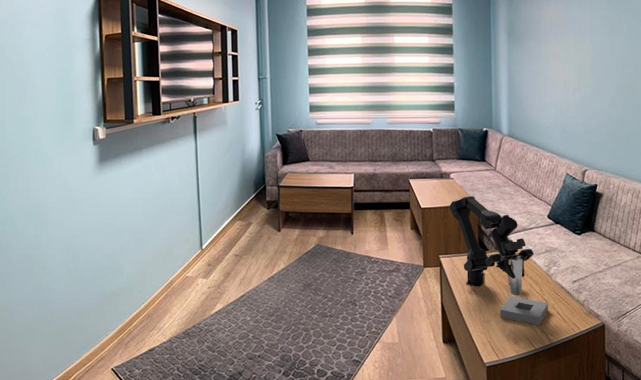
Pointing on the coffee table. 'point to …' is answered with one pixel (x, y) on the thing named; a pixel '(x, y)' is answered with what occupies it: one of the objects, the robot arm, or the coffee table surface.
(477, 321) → the coffee table surface
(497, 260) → the robot arm
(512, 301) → the pocket block
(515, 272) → the steel peg
